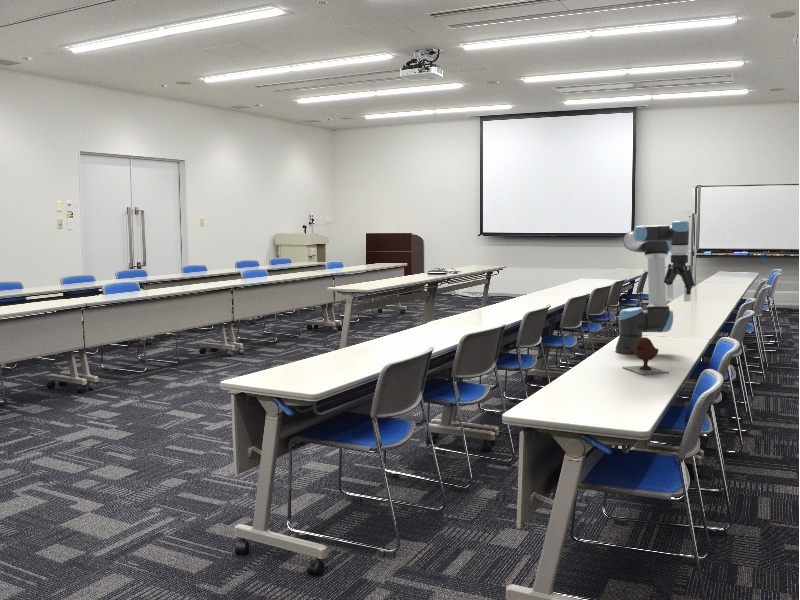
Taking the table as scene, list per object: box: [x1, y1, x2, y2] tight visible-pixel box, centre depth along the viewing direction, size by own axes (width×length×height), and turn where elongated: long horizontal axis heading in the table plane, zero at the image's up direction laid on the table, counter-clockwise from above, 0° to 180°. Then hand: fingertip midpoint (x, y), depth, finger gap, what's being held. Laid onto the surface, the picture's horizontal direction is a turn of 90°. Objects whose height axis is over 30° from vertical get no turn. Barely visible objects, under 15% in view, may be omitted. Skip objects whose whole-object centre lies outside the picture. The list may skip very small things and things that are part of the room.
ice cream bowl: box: [633, 336, 659, 370], centre depth 328 cm, size 11×11×15 cm
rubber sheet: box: [622, 364, 670, 376], centre depth 328 cm, size 17×13×1 cm
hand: (678, 299), depth 333 cm, fingers open, 13 cm apart
